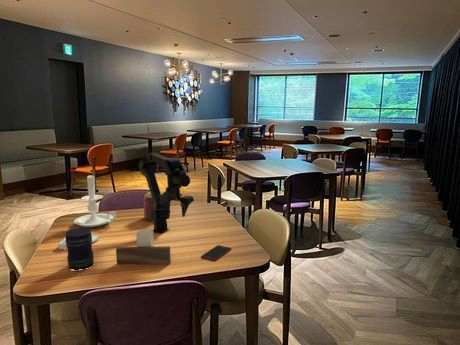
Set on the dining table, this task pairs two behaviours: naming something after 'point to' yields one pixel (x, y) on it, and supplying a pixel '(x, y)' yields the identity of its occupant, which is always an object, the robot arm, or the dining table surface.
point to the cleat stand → (143, 255)
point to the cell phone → (216, 253)
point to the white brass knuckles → (63, 243)
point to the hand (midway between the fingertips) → (175, 215)
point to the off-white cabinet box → (145, 238)
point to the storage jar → (79, 248)
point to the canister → (148, 206)
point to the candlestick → (93, 208)
